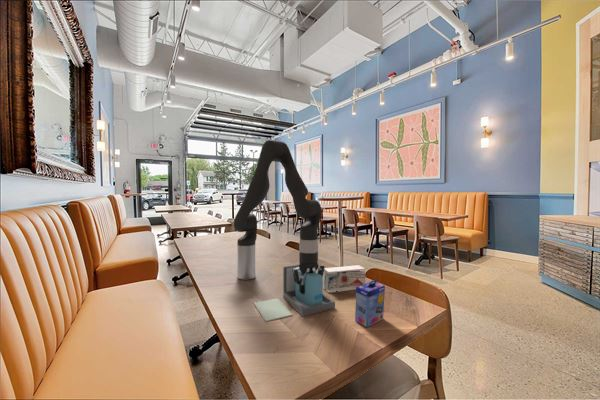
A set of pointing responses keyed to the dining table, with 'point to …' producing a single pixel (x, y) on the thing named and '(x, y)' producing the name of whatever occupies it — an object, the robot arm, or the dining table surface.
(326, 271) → the white printed box
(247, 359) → the dining table surface
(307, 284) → the blue rubber eraser
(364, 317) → the ink cartridge box
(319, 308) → the case
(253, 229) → the robot arm
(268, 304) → the mat
